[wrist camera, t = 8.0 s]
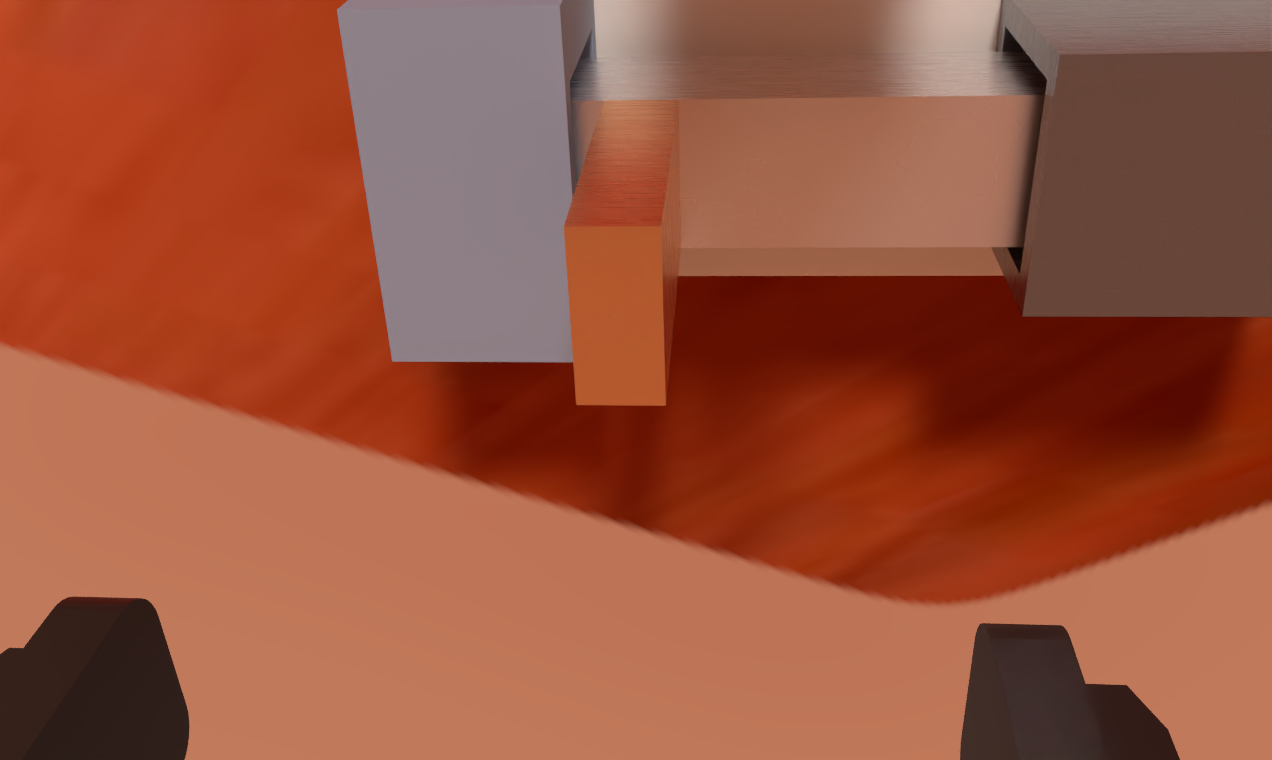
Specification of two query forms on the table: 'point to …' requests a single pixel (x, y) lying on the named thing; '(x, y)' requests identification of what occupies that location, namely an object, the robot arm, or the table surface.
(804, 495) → the table surface
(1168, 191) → the grey rectangular block
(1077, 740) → the robot arm
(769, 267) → the base board
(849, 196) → the inner bar
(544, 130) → the socket block
